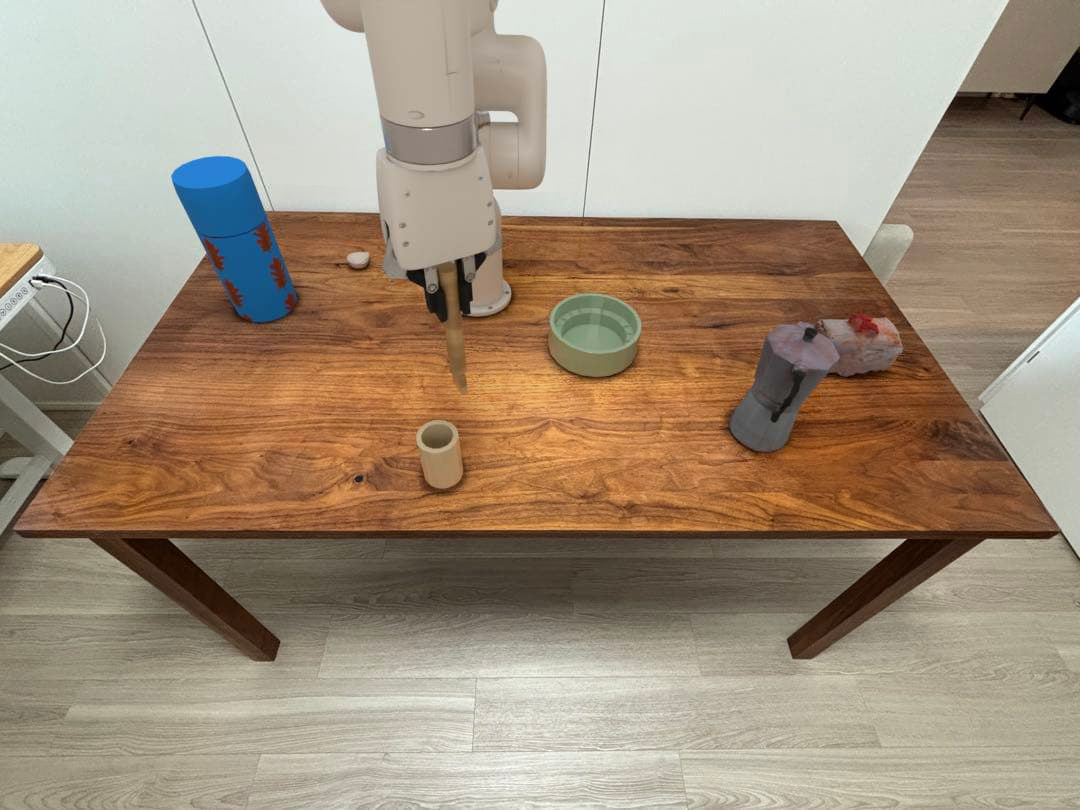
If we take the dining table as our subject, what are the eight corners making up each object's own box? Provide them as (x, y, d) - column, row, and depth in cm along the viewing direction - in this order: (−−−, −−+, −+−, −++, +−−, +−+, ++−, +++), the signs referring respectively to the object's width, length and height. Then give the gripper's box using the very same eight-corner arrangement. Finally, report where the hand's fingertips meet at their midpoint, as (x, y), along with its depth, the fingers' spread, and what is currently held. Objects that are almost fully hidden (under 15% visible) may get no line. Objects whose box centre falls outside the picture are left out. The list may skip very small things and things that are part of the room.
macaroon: (344, 266, 108) (341, 255, 106) (362, 254, 111) (359, 243, 109) (360, 273, 106) (357, 262, 105) (377, 261, 109) (375, 250, 107)
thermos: (223, 313, 97) (152, 179, 78) (263, 280, 104) (208, 150, 85) (271, 329, 95) (211, 195, 76) (310, 295, 102) (263, 164, 83)
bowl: (533, 334, 96) (533, 308, 92) (604, 310, 102) (608, 284, 97) (576, 390, 88) (580, 364, 83) (652, 361, 93) (659, 335, 88)
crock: (419, 467, 77) (409, 428, 70) (454, 453, 79) (449, 414, 72) (432, 496, 74) (424, 459, 67) (469, 481, 76) (465, 443, 69)
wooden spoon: (448, 382, 67) (431, 262, 54) (463, 377, 68) (450, 257, 55) (457, 397, 65) (442, 277, 52) (472, 392, 66) (461, 272, 53)
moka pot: (791, 406, 87) (849, 309, 72) (787, 481, 77) (854, 387, 62) (732, 390, 89) (776, 292, 74) (721, 462, 79) (770, 367, 64)
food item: (864, 346, 97) (893, 303, 90) (887, 378, 92) (920, 335, 85) (793, 350, 96) (816, 306, 88) (812, 382, 91) (839, 339, 83)
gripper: (497, 102, 49) (501, 273, 63) (320, 132, 43) (367, 312, 57) (537, 134, 45) (532, 309, 58) (346, 171, 39) (391, 355, 53)
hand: (450, 310), depth 58 cm, fingers closed on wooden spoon, 2 cm apart
